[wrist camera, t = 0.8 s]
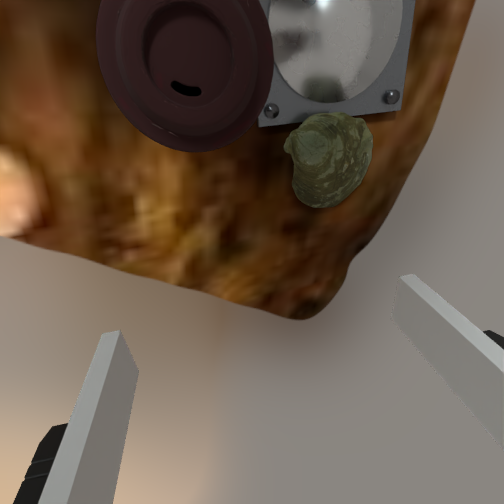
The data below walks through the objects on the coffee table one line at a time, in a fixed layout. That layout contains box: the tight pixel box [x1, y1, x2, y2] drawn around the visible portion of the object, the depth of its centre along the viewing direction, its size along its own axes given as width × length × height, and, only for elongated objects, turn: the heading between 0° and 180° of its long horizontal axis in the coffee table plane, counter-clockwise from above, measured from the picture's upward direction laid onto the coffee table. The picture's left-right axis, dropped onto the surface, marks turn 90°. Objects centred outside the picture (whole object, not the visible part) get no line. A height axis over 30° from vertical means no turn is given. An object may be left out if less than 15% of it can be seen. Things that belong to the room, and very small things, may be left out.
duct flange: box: [257, 0, 415, 127], centre depth 28 cm, size 16×16×2 cm
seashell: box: [284, 112, 373, 208], centre depth 32 cm, size 10×7×10 cm
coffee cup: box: [96, 0, 274, 152], centre depth 22 cm, size 10×10×15 cm
